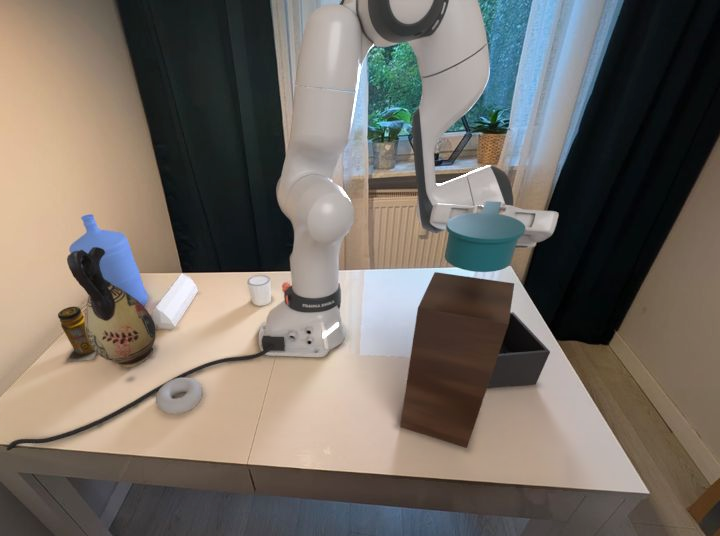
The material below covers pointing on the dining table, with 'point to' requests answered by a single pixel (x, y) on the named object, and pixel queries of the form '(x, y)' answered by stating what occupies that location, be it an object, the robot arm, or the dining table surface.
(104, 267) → the water jug
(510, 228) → the cup
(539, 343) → the dark grey open box
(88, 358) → the condiment
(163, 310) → the white hexagonal prism
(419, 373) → the walnut wood pedestal
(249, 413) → the dining table surface
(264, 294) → the shot glass
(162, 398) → the donut
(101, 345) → the ceramic jug
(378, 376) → the dining table surface
